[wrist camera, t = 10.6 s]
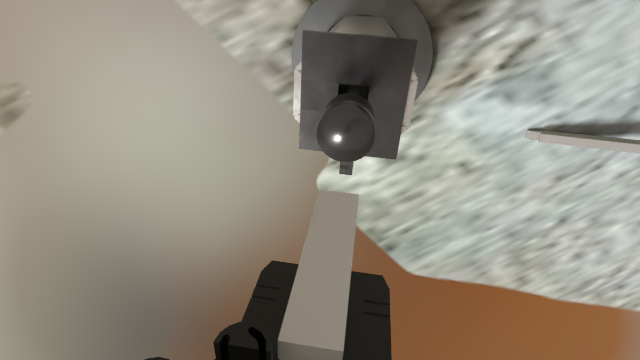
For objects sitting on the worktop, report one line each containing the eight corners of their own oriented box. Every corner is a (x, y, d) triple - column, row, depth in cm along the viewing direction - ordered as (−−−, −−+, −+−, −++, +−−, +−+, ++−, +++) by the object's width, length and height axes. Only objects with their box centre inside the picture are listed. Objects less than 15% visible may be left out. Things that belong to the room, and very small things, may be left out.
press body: (320, 10, 39) (293, 28, 27) (411, 17, 38) (428, 39, 26) (314, 122, 46) (290, 179, 33) (392, 130, 45) (398, 192, 32)
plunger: (324, 27, 36) (285, 67, 21) (401, 33, 35) (419, 80, 20) (320, 101, 40) (284, 181, 24) (389, 108, 39) (397, 195, 24)
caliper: (716, 137, 41) (767, 162, 35) (711, 146, 41) (761, 172, 36) (526, 128, 43) (547, 150, 38) (523, 137, 44) (543, 159, 39)
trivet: (294, -24, 38) (292, -24, 38) (446, -14, 37) (448, -14, 36) (291, 117, 47) (290, 120, 46) (417, 130, 45) (417, 133, 44)
